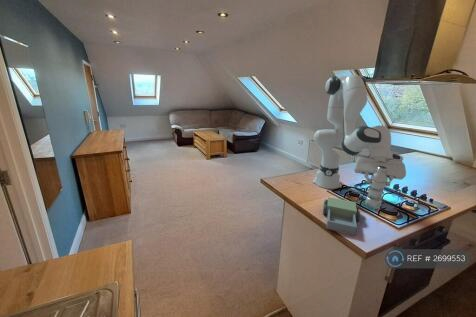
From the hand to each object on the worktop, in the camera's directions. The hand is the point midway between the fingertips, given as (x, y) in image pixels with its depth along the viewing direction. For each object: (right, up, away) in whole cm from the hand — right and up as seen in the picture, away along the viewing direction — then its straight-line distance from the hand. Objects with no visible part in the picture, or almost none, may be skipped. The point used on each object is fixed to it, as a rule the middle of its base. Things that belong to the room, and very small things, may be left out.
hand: (378, 184), depth 100 cm
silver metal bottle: (0, -11, +5) cm, 12 cm away
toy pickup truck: (-10, -20, +16) cm, 28 cm away
